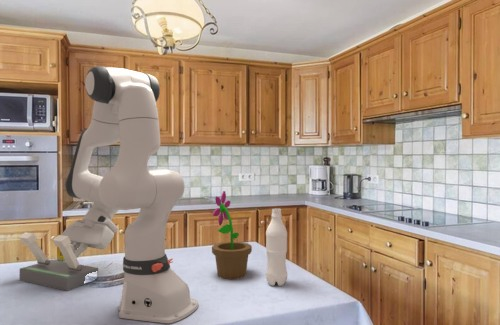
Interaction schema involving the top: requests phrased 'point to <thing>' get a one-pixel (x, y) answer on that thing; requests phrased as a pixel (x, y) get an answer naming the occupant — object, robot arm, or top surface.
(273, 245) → the water bottle
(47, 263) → the on lever
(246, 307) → the top surface
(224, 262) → the flowerpot
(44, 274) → the switch box
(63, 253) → the lever
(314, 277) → the top surface
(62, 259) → the supplement bottle
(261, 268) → the top surface
